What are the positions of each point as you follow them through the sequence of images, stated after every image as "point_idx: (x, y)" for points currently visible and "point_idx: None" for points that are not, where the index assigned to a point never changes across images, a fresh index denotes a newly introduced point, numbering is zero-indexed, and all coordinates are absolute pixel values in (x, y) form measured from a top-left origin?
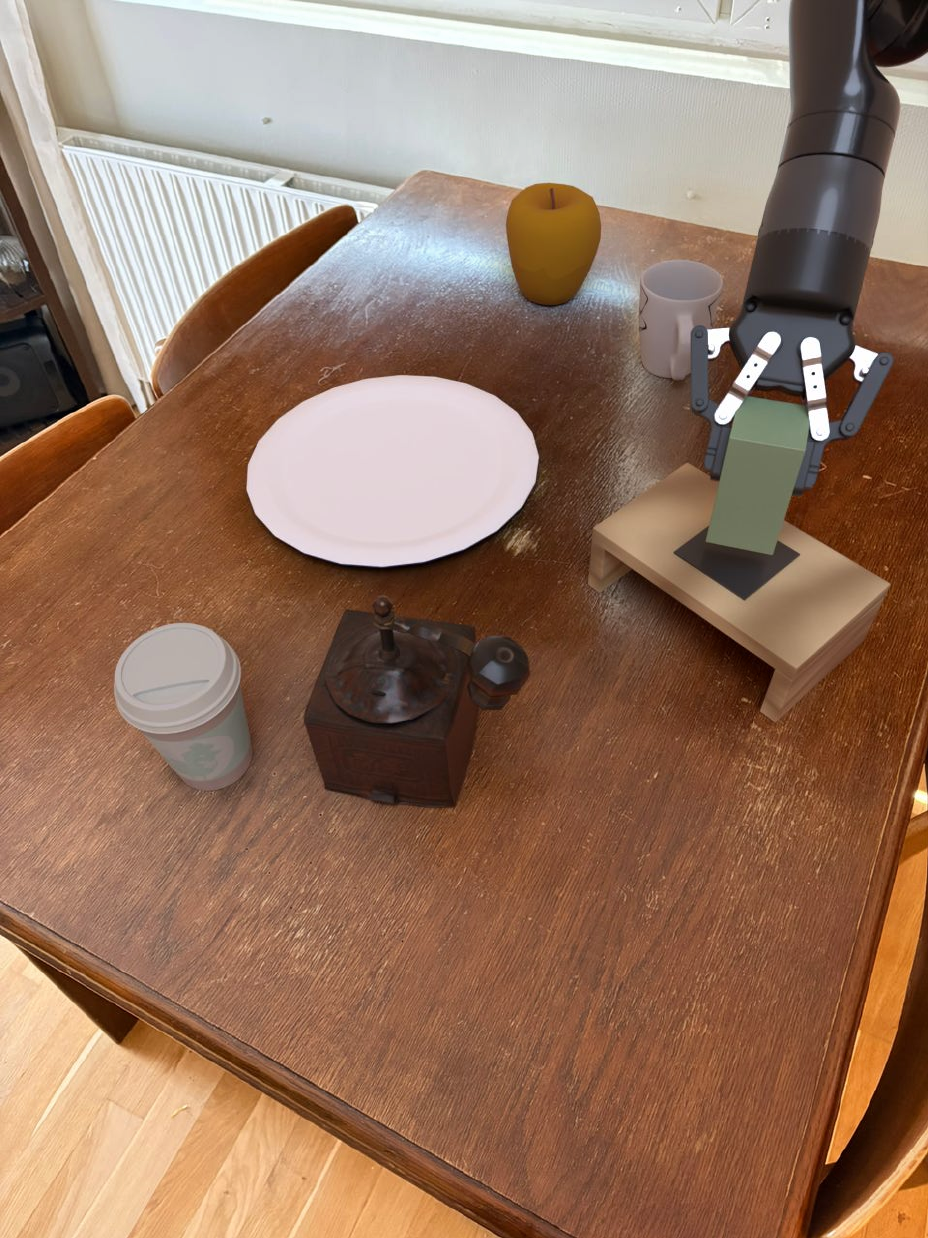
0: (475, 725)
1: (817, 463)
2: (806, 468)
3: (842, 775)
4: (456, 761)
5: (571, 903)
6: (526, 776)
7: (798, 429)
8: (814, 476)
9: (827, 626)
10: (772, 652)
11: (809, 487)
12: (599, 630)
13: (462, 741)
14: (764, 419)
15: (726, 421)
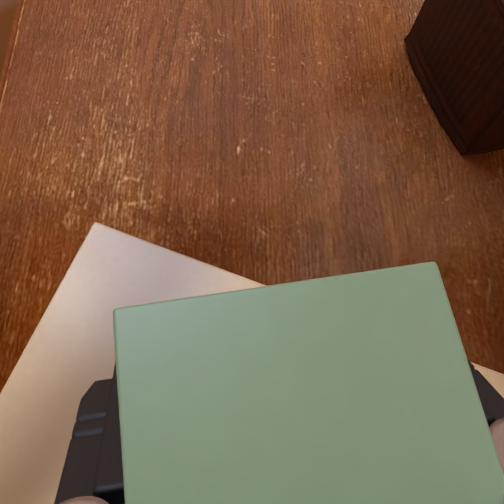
0: (444, 114)
1: (79, 446)
2: (116, 400)
3: (33, 232)
4: (434, 15)
5: (260, 12)
6: (361, 98)
7: (173, 454)
8: (87, 410)
9: (56, 327)
10: (136, 238)
11: (100, 380)
12: None
13: (444, 35)
14: (352, 465)
15: (497, 432)
